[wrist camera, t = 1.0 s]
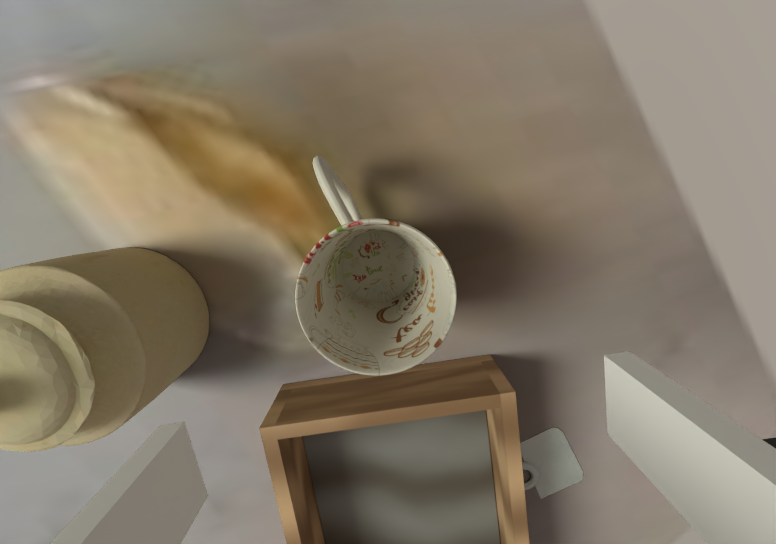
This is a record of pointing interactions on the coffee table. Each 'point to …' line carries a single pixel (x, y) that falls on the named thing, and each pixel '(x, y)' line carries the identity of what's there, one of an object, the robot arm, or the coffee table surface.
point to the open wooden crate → (399, 457)
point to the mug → (373, 289)
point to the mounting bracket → (549, 462)
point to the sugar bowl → (92, 343)
